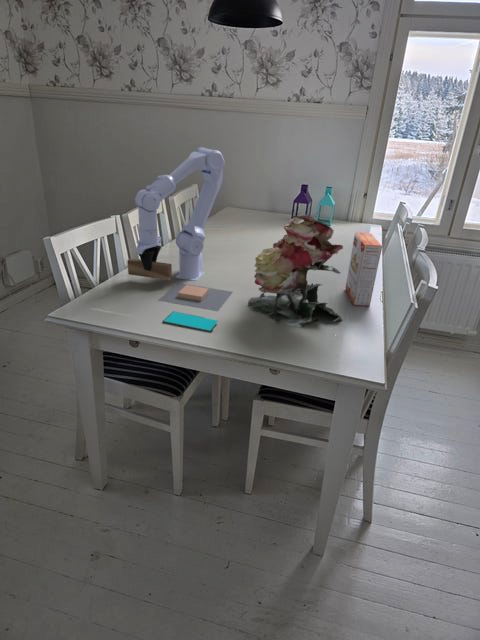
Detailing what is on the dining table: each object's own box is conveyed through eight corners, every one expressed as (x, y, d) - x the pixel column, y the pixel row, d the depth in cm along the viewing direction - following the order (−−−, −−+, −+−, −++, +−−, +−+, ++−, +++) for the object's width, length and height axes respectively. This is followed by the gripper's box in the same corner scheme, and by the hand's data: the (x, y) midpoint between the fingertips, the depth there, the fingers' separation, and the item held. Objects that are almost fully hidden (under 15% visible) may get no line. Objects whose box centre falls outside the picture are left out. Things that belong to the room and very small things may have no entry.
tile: (186, 284, 141) (209, 288, 140) (186, 289, 142) (208, 293, 140) (178, 292, 135) (201, 296, 133) (178, 297, 136) (201, 301, 134)
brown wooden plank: (132, 271, 147) (131, 258, 145) (171, 277, 144) (171, 263, 141) (128, 274, 145) (127, 260, 143) (168, 280, 142) (168, 266, 139)
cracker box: (343, 289, 152) (354, 231, 142) (360, 290, 152) (372, 232, 142) (351, 305, 139) (363, 244, 130) (370, 306, 139) (383, 245, 130)
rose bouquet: (291, 286, 151) (301, 201, 137) (351, 320, 130) (370, 222, 116) (230, 299, 138) (234, 206, 125) (285, 338, 117) (298, 232, 103)
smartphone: (211, 331, 117) (162, 321, 121) (211, 333, 118) (162, 323, 121) (220, 320, 124) (173, 311, 127) (220, 322, 124) (173, 313, 127)
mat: (178, 283, 147) (178, 282, 147) (233, 292, 143) (233, 291, 143) (157, 301, 133) (157, 300, 133) (217, 312, 129) (218, 311, 129)
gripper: (147, 222, 144) (148, 260, 150) (125, 232, 131) (128, 273, 138) (166, 224, 142) (167, 263, 149) (146, 235, 130) (148, 277, 136)
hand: (149, 268), depth 143 cm, fingers closed on brown wooden plank, 2 cm apart
